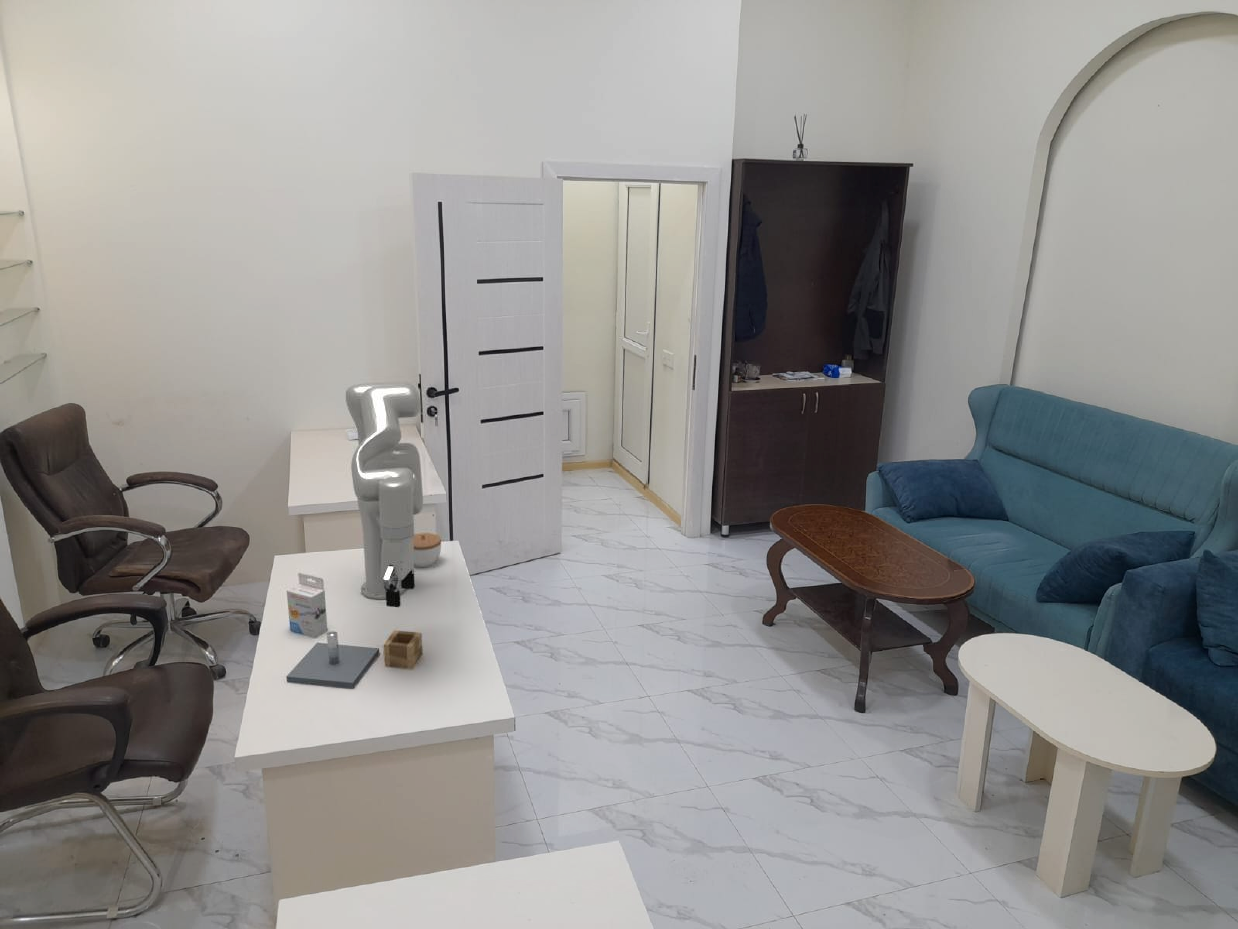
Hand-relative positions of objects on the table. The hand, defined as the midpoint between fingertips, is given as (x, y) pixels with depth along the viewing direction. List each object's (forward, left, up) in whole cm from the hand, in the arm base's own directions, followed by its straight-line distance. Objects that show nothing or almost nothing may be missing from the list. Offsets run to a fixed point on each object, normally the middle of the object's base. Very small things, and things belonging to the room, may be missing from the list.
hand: (400, 597), depth 211 cm
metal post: (+6, -15, -16) cm, 22 cm away
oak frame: (0, 0, -17) cm, 17 cm away
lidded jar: (-56, -14, -17) cm, 61 cm away
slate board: (+6, -15, -17) cm, 24 cm away
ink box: (-10, -29, -17) cm, 35 cm away
